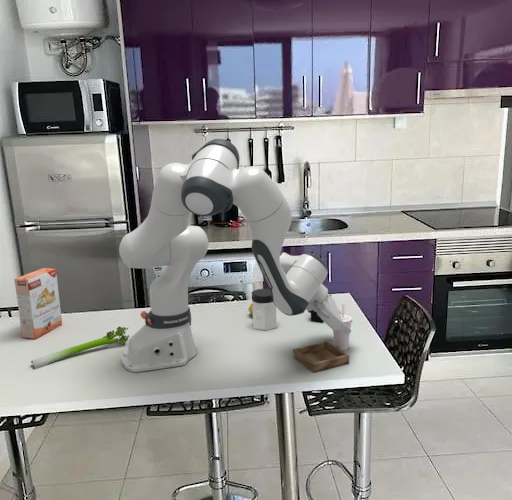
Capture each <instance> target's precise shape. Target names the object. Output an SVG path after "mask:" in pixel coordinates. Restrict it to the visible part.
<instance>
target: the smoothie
mask: <svg viewBox="0 0 512 500" xmlns="http://www.w3.org/2000/svg"><path fill="white" fill-rule="evenodd" d="M341 307H342V308H341V309H342V311H341V314H340V315H341V317H342V320H343V322H344V324H345V325H346V326H348V327H349V328H350V329H351V326H352V323H353V317H352V316H351V315H348V314H345V304H344V303H342V306H341ZM332 333H333V340H334V346H335V347H337V348H338V349H340V350H341V351H343V352H344V351H347V350H348V348H349V342H350V335H351V332H350V333H349V334H348V335H347V334H346V333H344V332H343V331H341V330H338V331H334V330H332Z"/></svg>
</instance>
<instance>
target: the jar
mask: <svg viewBox="0 0 512 500" xmlns="http://www.w3.org/2000/svg"><path fill="white" fill-rule="evenodd" d="M251 304H252V308H253V315H252V326H253V329H254V330H260V331H269V330H273V329H276V328H277V307H276V306H275V304H274V302H273V300H272V296H271V292H270V289H269V288H259V289H255V290H252V292H251Z"/></svg>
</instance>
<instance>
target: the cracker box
mask: <svg viewBox="0 0 512 500" xmlns="http://www.w3.org/2000/svg"><path fill="white" fill-rule="evenodd" d="M14 285H15V293H16V300H17V308H18V314H19V315H18V316H19V323H20V329H21V336H22V338H23V339H31V340H36V339H38V338H40V337H42V336H44V335H46V334H48V333H50V332H51V331H53V330H55V329H56V327H57V328H58V326H59V327H60V326H62V325H63V320H62V312H61V311H62V309H61V302H60V301H61V300H60V294H59V285H58V275H57V269H56V268H51V267H50V268H48V267H42V268H39V269H37V270H35V271H32V272H29V273H26V274H23V275H20V276H19V277H16V278H14ZM54 328H55V329H54ZM45 333H46V334H45ZM43 334H44V335H43Z"/></svg>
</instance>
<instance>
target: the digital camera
mask: <svg viewBox="0 0 512 500" xmlns="http://www.w3.org/2000/svg"><path fill="white" fill-rule="evenodd" d="M329 295H330V296H331V297H332V295H331V294H329ZM307 313H309V314H310V322H312V323H320V324H323V323H325V322H324V321H323V320H322V319H321V318H320V317H319V316H318V314H317V312H315V311H313V310H312V311H307Z"/></svg>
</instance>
